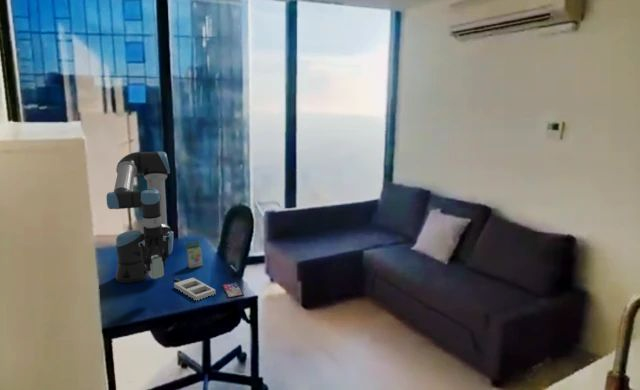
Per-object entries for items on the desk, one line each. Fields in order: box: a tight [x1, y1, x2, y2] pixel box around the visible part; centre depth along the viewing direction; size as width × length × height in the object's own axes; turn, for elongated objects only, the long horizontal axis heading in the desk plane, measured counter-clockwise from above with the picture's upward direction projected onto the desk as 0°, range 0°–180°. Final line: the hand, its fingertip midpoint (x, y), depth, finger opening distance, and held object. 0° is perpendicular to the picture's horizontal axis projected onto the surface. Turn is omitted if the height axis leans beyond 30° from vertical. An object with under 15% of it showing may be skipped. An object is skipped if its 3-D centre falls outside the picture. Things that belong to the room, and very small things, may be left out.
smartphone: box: [221, 282, 245, 299], centre depth 213 cm, size 8×1×15 cm
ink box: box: [186, 240, 204, 269], centre depth 240 cm, size 7×4×13 cm, turn 120°
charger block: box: [151, 255, 164, 280], centre depth 201 cm, size 4×4×9 cm
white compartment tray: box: [173, 277, 217, 302], centre depth 215 cm, size 28×10×2 cm, turn 45°
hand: (156, 275), depth 202 cm, fingers closed on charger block, 4 cm apart
